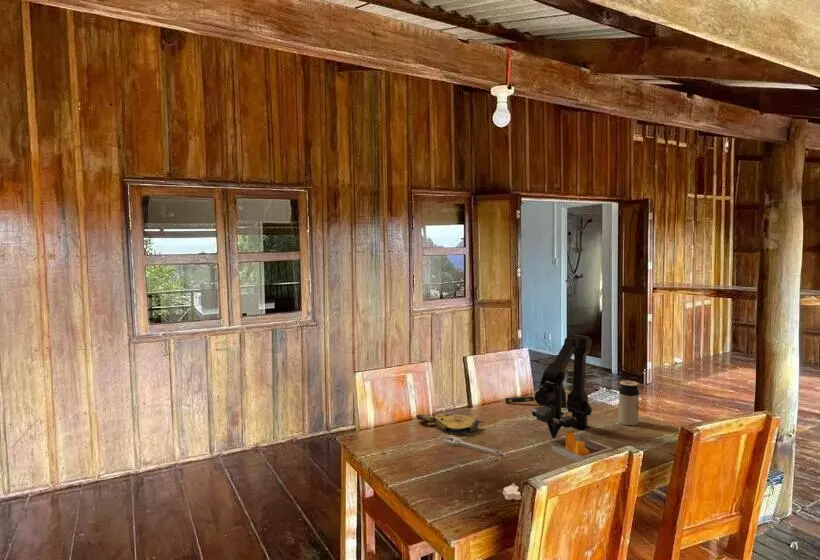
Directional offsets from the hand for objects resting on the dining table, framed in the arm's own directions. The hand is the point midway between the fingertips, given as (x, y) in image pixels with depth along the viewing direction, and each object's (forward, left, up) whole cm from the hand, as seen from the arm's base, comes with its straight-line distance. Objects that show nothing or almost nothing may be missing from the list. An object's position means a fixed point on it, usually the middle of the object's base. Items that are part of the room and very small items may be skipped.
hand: (553, 437), depth 217 cm
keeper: (0, +14, -1) cm, 14 cm away
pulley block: (+26, -37, -2) cm, 45 cm away
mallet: (-29, -40, -2) cm, 49 cm away
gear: (+45, +26, -2) cm, 52 cm away
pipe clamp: (+2, +14, -2) cm, 14 cm away
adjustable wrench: (+32, -12, -2) cm, 35 cm away
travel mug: (-44, +2, -2) cm, 44 cm away
